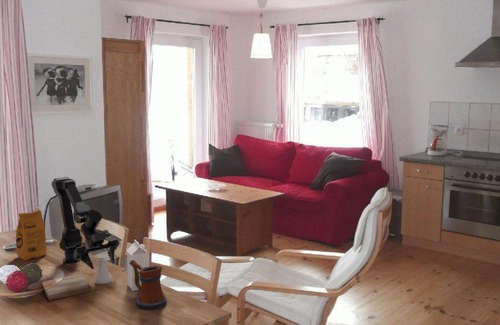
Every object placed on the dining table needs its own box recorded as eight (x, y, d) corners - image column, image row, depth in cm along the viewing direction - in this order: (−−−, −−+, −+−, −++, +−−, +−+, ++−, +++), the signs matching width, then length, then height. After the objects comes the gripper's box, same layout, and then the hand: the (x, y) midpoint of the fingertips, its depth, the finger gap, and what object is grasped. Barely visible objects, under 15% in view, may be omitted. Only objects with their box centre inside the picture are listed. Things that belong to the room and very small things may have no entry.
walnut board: (42, 285, 216) (41, 281, 215) (81, 278, 224) (81, 273, 223) (49, 300, 202) (48, 295, 202) (91, 291, 210) (90, 286, 210)
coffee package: (14, 256, 251) (11, 212, 247) (40, 250, 259) (37, 207, 256) (23, 261, 244) (19, 215, 240) (49, 255, 252) (46, 210, 249)
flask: (114, 278, 224) (113, 256, 222) (108, 285, 216) (107, 262, 215) (98, 277, 224) (97, 255, 223) (91, 284, 217) (90, 261, 216)
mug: (120, 299, 203) (118, 262, 201) (144, 290, 211) (143, 254, 209) (148, 313, 191) (146, 274, 188) (173, 303, 199) (172, 265, 197)
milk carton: (132, 291, 210) (130, 245, 207) (127, 285, 216) (126, 240, 213) (149, 288, 213) (148, 243, 210) (144, 282, 220) (143, 238, 216)
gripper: (74, 228, 214) (87, 261, 207) (116, 220, 226) (129, 251, 219) (68, 242, 221) (80, 275, 214) (109, 234, 233) (121, 264, 226)
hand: (103, 266), depth 218 cm, fingers open, 9 cm apart
